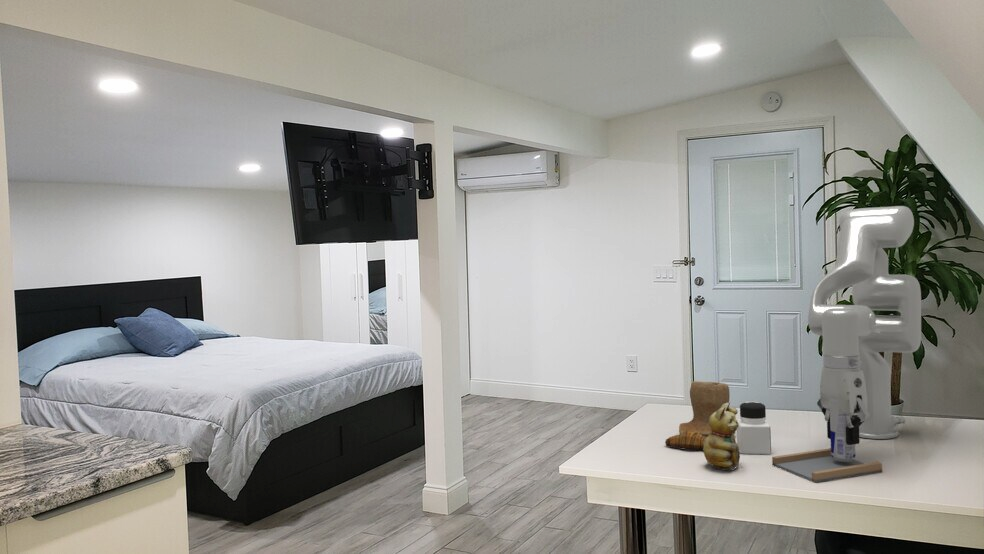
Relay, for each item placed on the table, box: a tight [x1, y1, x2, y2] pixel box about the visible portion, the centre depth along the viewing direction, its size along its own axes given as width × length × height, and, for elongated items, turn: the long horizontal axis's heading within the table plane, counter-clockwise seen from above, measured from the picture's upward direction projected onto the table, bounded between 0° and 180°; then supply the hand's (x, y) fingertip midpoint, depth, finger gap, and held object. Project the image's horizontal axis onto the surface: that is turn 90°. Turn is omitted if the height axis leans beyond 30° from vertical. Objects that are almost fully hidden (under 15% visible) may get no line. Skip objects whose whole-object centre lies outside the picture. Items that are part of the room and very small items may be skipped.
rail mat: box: [771, 447, 883, 484], centre depth 164 cm, size 18×14×2 cm
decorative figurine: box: [702, 402, 741, 471], centre depth 168 cm, size 10×8×15 cm
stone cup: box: [678, 380, 736, 437], centre depth 197 cm, size 15×12×15 cm
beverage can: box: [830, 396, 857, 462], centre depth 165 cm, size 5×5×15 cm
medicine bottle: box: [736, 401, 772, 455], centre depth 181 cm, size 7×7×12 cm
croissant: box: [664, 430, 707, 451], centre depth 185 cm, size 14×7×5 cm, turn 64°
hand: (843, 440), depth 165 cm, fingers closed on beverage can, 5 cm apart
